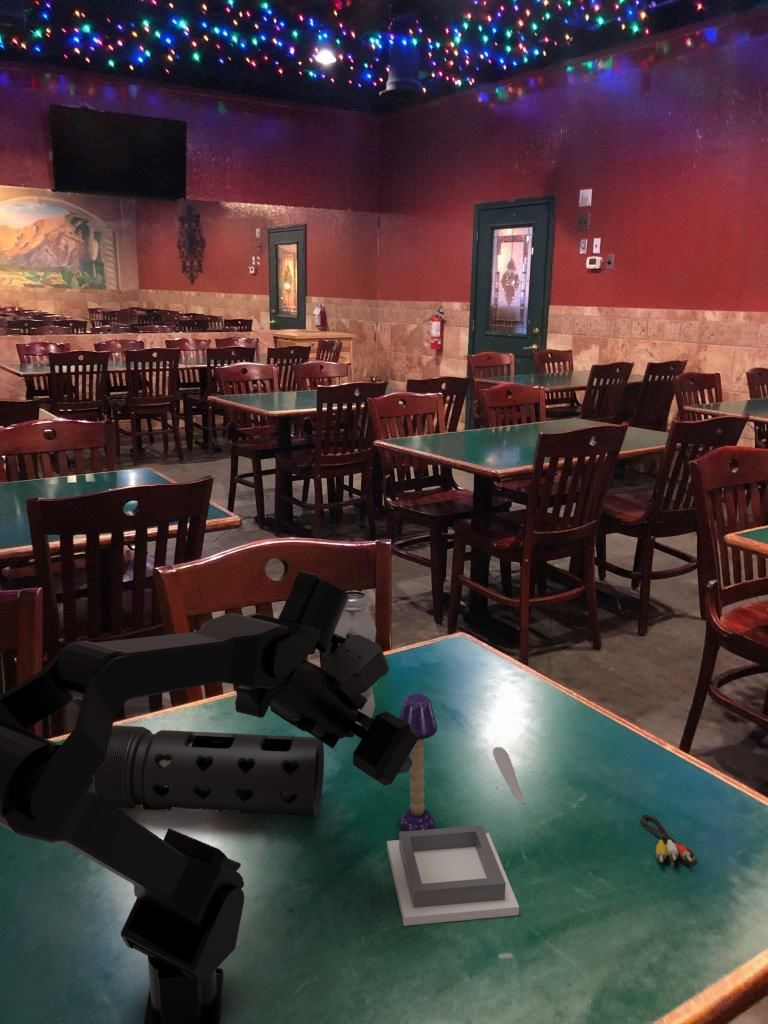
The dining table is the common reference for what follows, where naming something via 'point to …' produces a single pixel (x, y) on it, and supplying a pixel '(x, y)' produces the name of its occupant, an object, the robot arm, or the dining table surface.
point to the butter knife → (508, 772)
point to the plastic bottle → (358, 624)
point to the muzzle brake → (212, 771)
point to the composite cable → (668, 844)
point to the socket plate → (449, 876)
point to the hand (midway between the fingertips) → (380, 749)
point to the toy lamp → (418, 760)
